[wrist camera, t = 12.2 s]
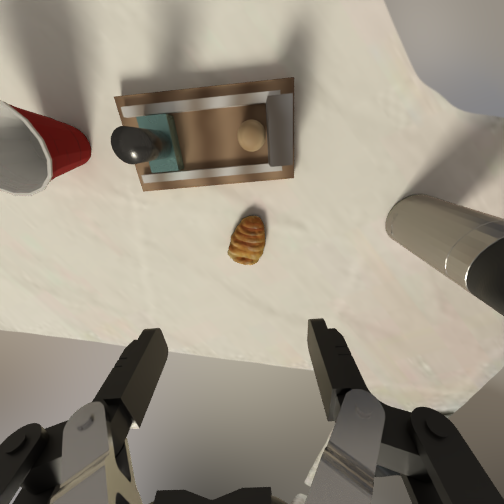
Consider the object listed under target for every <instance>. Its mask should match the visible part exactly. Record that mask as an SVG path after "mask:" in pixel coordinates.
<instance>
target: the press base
mask: <svg viewBox="0 0 504 504" xmlns="http://www.w3.org/2000/svg"><path fill="white" fill-rule="evenodd" d="M114 99H115V102H116V105H117V108H118V112H119V115H120V118H121V121H122V125H123V126H129V127H137V128H139V126H138V122H137V119H136V117H138V116H148V115H157V114H168V115H171V116H173V117H174V121H175V126H176V131H177V135H178V140H179V145H180V149H181V154H182V159H183V163H184V169H181V170H178V171H167V172H157V173H152V172H151V168H150V165H149V162H143V163H138V164H135V166H136V170H137V173H138V176H139V179H140V183H141V186H142V189H143V191H154V190H165V189H176V188H188V187H199V186H210V185H221V184H232V183H244V182H255V181H266V180H277V179H288V178H294V77H291V78H282V79H273V80H264V81H255V82H245V83H236V84H227V85H218V86H208V87H199V88H190V89H181V90H171V91H162V92H153V93H144V94H135V95H125V96H116V97H114ZM250 119H253V120H257V121H258V122H260V123H261V124H262V125H263V127H264V129H265V133H266V139H265V142H264V144H263V146H262V147H261V148H260V149H259V150H257V151H254V152H250V151H246V150H245V149H243V148H242V147H241V146H240V144H239V142H238V137H237V134H238V129H239V127H240V125H241V124H242V123H243V122H245V121H247V120H250Z"/></svg>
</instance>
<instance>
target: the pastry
mask: <svg viewBox="0 0 504 504" xmlns="http://www.w3.org/2000/svg"><path fill="white" fill-rule="evenodd" d="M264 246H265V230H264V224H263V222H262V220H261V218H260V217H258V216H248V217H246V218H243V219H242V221H241V222H240V224H239V225H238V226H237V227H236V229H235V232H234V233H233V234H232V236H231V242H230V246H229V250H228V255H229V256H230V258H232V259H233V260H234V261H235V262H237V263H240V264H244V265H253V264H255V263H257V262H258V260H259V258H260V257H261V256H262V254H263V249H264Z"/></svg>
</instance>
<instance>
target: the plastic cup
mask: <svg viewBox="0 0 504 504" xmlns="http://www.w3.org/2000/svg"><path fill="white" fill-rule="evenodd" d="M90 157H91V147H90V144H89V141H88V140H87V138H86V137H85V135H84V134H83V133H82V132H81V131H79V130H78V129H77V128H75V127H73V126H70V125H68V124H66V123H62V122H59V121H56V120H54V119H52V118H49V117H46V116H42V115H39V114H36V113H33V112H30V111H26V110H23V109H20V108H17V107H14V106H12V105H9V104H7V103H6V102H3V101H1V100H0V191H3V192H6V193H9V194H12V195H19V196H32V195H34V194H36V193H38V192H41V191H43V190H45V189H46V187H47V185H48V184H49V182H50V181H51V180H52V179H54V178H55V177H57V176H59V175H62V174H64V173H66V172H68V171H70V170H72V169H74V168H76V167H78V166H81V165H83V164H85V163H86V162H87V161H88V160H89V158H90Z"/></svg>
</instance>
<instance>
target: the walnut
mask: <svg viewBox="0 0 504 504" xmlns="http://www.w3.org/2000/svg"><path fill="white" fill-rule="evenodd" d="M237 137H238V142H239V144H240V146H241V147H242V148H243V149H245V150H246V151H250V152H254V151H257V150H259V149H260V148H261V147H262V146H263V144H264V142H265V139H266V133H265V129H264V127H263V125H262V124H261V123H260V122H258V121H257V120H253V119H250V120H247V121H245V122H243V123H242V124H241V125H240V127H239V129H238V134H237Z"/></svg>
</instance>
